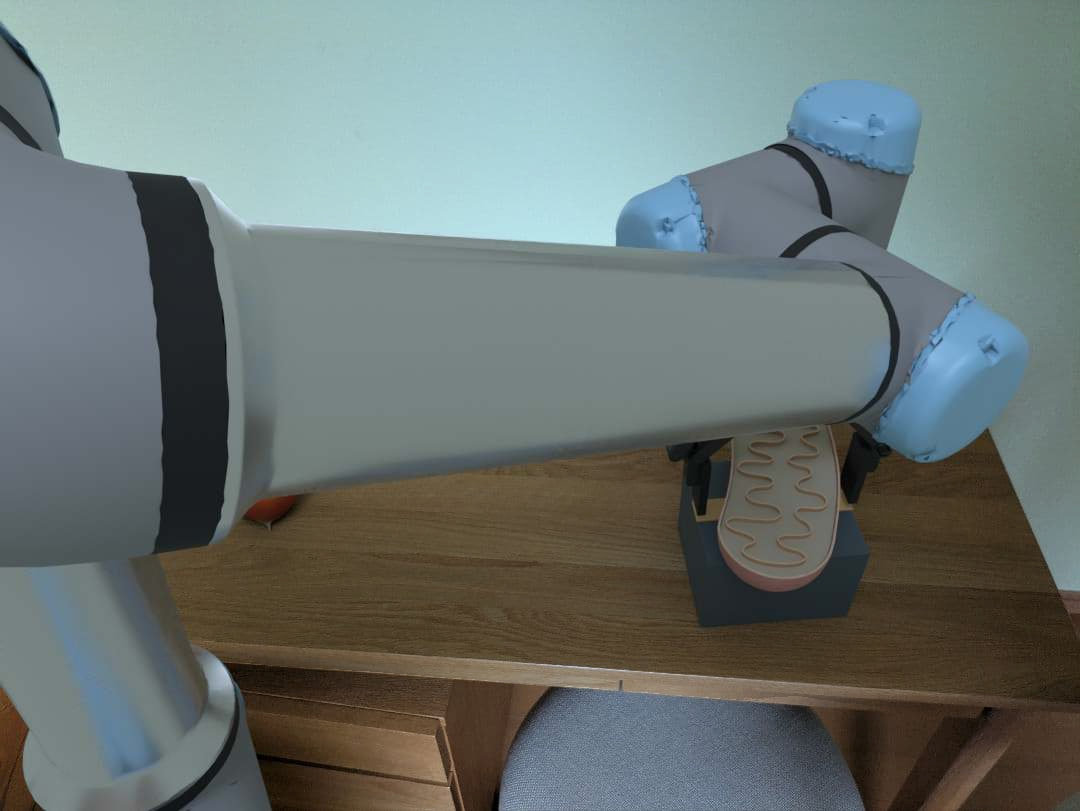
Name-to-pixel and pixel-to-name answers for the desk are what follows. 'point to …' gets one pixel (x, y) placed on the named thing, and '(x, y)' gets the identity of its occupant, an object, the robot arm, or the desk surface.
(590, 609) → the desk surface
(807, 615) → the dark blue box
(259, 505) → the fruit
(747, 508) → the anatomical model
